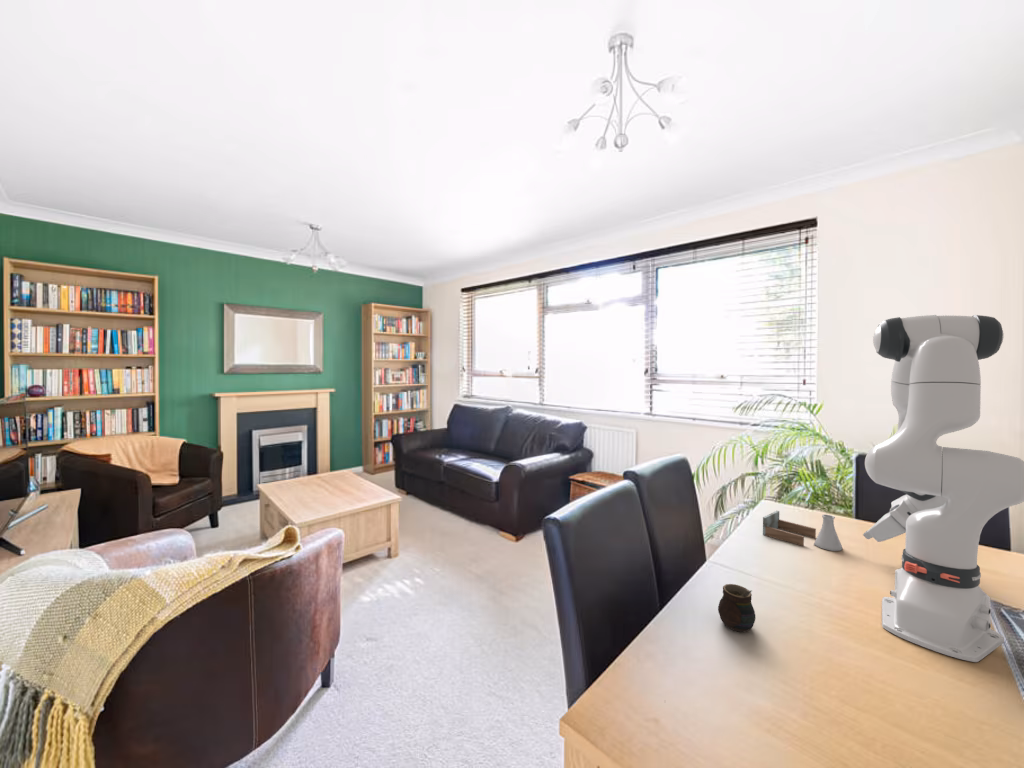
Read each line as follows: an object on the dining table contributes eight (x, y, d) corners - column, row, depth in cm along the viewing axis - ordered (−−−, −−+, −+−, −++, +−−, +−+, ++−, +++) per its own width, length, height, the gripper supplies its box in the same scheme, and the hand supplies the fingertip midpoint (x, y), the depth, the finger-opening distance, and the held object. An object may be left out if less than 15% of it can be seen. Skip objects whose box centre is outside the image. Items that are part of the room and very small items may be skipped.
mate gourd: (733, 613, 94) (735, 570, 94) (764, 632, 87) (766, 586, 87) (710, 619, 92) (711, 575, 91) (740, 640, 85) (741, 593, 84)
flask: (808, 544, 132) (809, 514, 132) (822, 540, 135) (822, 510, 135) (834, 553, 126) (834, 521, 125) (847, 549, 129) (848, 517, 128)
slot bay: (802, 546, 131) (803, 527, 131) (762, 534, 140) (763, 517, 140) (815, 537, 138) (815, 519, 138) (776, 527, 147) (776, 510, 147)
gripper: (908, 495, 123) (866, 518, 131) (892, 510, 111) (846, 534, 119) (929, 514, 120) (884, 536, 128) (915, 532, 107) (866, 555, 116)
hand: (866, 535), depth 123 cm, fingers closed
